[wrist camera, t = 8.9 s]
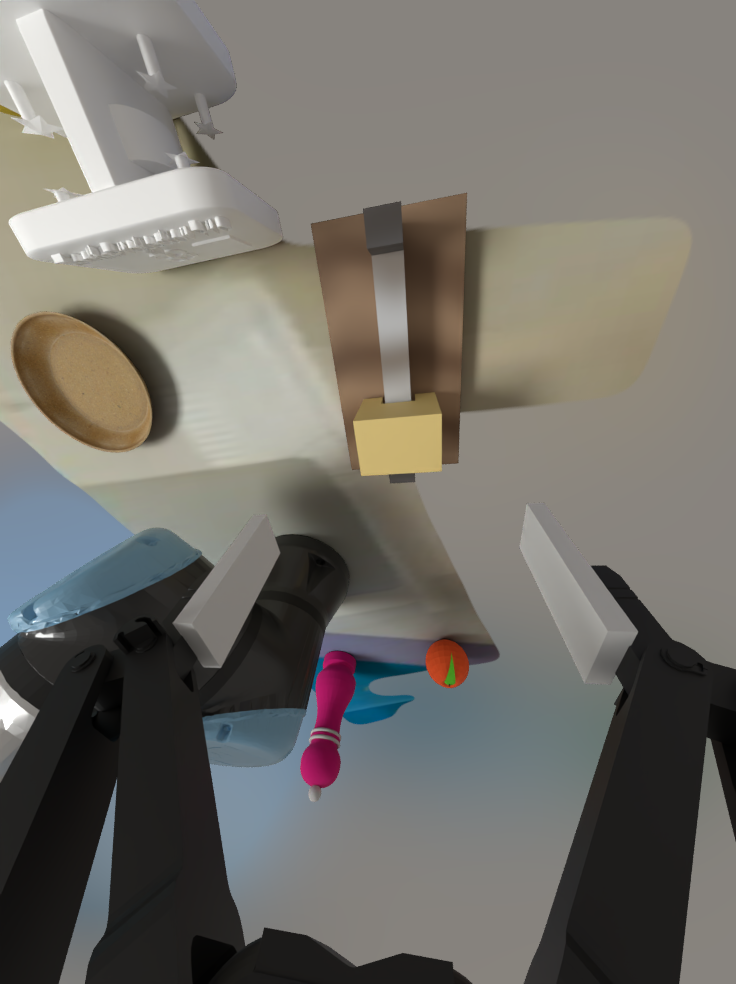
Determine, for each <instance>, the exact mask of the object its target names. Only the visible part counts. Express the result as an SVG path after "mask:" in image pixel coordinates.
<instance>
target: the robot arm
mask: <svg viewBox="0 0 736 984" xmlns="http://www.w3.org/2000/svg"><path fill="white" fill-rule="evenodd" d="M519 548H520V550H521V553H522V554H523V556H524V558H525V561H526V563H527V565H528V567H529V569H530V571H531V573H532V575H533V577H534V579H535V582H536V584H537V586H538V588H539V590H540V592H541V594H542V596H543V598H544V600H545V602H546V604H547V607H548V608H549V610H550V613H551V615H552V617H553V619H554V621H555V623H556V625H557V627H558V629H559V631H560V633H561V635H562V637H563V640H564V642H565V644H566V646H567V648H568V650H569V652H570V654H571V656H572V658H573V660H574V663H575V665H576V667H577V669H578V671H579V673H580V675H581V677H582V679H583V681H584V683H585V684H608V685H610V684H611V682H612V680H613V679H614V677H615V675H617V677H618V679H619V681H620V682H621V684H622V686H623V689H622V691H621V693H620V694H619V696H618V698H617V700H616V702H615V703H614V705H616V709H615V712H614V715H613V718H612V721H611V724H610V727H609V731H608V734H607V737H606V740H605V743H604V746H603V749H602V752H601V756H600V759H599V762H598V765H597V768H596V771H595V774H594V777H593V780H592V784H591V787H590V790H589V793H588V796H587V799H586V803H585V805H584V809H583V812H582V815H581V818H580V821H579V824H578V827H577V830H576V833H575V836H574V840H573V843H572V846H571V849H570V852H569V855H568V858H567V862H566V865H565V868H564V871H563V874H562V877H561V880H560V883H559V886H558V889H557V892H556V896H555V899H554V902H553V905H552V908H551V911H550V914H549V917H548V921H547V924H546V927H545V930H544V933H543V936H542V939H541V942H540V944H539V947H538V949H537V951H536V953H535V955H534V958H533V960H532V962H531V965H530V967H529V970H528V973H527V976H526V979H525V982H524V984H679V981H680V971H681V963H682V953H683V945H684V944H683V943H684V935H685V926H686V918H687V917H686V916H687V908H688V900H689V890H690V881H691V872H692V863H693V854H694V845H695V836H696V827H697V818H698V809H699V800H700V791H701V782H702V773H703V764H704V755H705V746H706V737H707V738H710V739H711V742H712V746H713V750H714V754H715V758H716V763H717V767H718V770H719V775H720V779H721V783H722V787H723V791H724V795H725V799H726V803H727V808H728V811H729V816H730V820H731V824H732V828H733V832H734V836H735V840H736V669H732V668H729V667H725V666H721V665H718V664H714V663H711V662H708V661H706V660H705V659H704V658H703V657H702V656H701V655H699V654H698V653H697V652H696V651H695V650H693V649H691V648H689V647H688V646H686V645H684V644H682V643H680V642H677V641H674V640H672V639H671V638H670V637H669V635H668V634H667V633H666V632H665V630H664V629H663V628H662V627H661V626H660V624H659V623H658V622H657V621H656V619H655V618H654V617H653V616H652V614H651V613H650V612H649V611H648V609H647V608H646V607H645V606H644V605H643V603H642V602H641V601H640V600H638V597H637V596H636V595H635V593H634V592H633V591H632V590H630V587H629V586H628V585H627V584H626V583H625V581H624V580H623V579H622V577H621V576H620V575H618V574H617V573H616V572H614V571H613V570H611V569H610V568H608V567H607V566H590V565H589V563H588V562H587V561H586V559H585V558H584V556H583V555H582V554H581V552H580V551H579V549H578V548H577V547H576V545H575V544H574V543H573V541H572V540H571V539H570V537H569V536H568V534H567V533H566V532H565V530H564V529H563V527H562V526H561V525H560V523H559V522H558V521H557V519H556V518H555V517H554V515H553V514H552V512H551V511H550V510H549V508H548V507H547V505H546V504H545V503H527V506H526V511H525V518H524V523H523V529H522V535H521V541H520V547H519ZM348 585H349V571H348V568H347V566H346V564H345V562H344V561H343V559H342V558H341V557H340V555H339V554H338V553H337V552H335V551H334V550H333V549H332V548H330V547H329V546H327V545H326V544H324V543H322V542H320V541H318V540H315V539H312V538H309V537H305V536H298V535H284V536H279V537H274V534H273V531H272V528H271V525H270V522H269V520H268V517H267V514H262V515H253V516H252V517H251V519H250V520H249V521H248V523H247V524H246V525H245V527H244V528H243V529H242V531H241V532H240V533H239V535H238V536H237V538H236V539H235V540H234V542H233V543H232V544H231V546H230V547H229V548H228V550H227V551H226V552H225V554H224V555H223V556H222V558H221V559H220V560H219V562H218V563H217V564H216V566H214V565H213V564H212V563H211V562H209V561H208V560H207V559H206V558H205V557H204V556H202V552H201V551H200V550H197V549H194V548H193V547H191V546H190V545H189V544H187V543H186V542H185V541H184V540H182V539H181V538H180V537H178V536H177V535H176V534H175V533H173V532H172V531H170V530H168V529H165V528H150V529H147V530H144V531H142V532H140V533H138V534H136V535H134V536H133V537H130V538H129V539H127V540H125V541H124V542H122V543H120V544H118V545H116V546H115V547H113V548H111V549H110V550H108V551H106V552H105V553H103V554H101V555H100V556H98V557H97V558H95V559H93V560H92V561H90V562H88V563H87V564H85V565H83V566H82V567H80V568H79V569H77V570H75V571H74V572H72V573H71V574H69V575H68V576H66V577H65V578H63V579H61V580H60V581H58V582H57V583H56V584H54V585H52V586H51V587H49V588H48V589H47V590H45V591H43V592H42V593H40V594H38V595H37V596H35V597H34V598H32V599H30V600H29V601H28V602H26V603H25V604H23V605H22V606H20V607H19V608H18V609H16V610H15V611H14V612H12V613H11V614H10V615H9V617H8V623H9V624H10V625H11V629H12V630H13V631H15V632H16V633H18V634H17V635H16V636H14V637H13V638H12V639H10V640H9V641H8V642H7V643H5V644H4V645H3V646H1V647H0V984H59V980H60V976H61V973H62V969H63V966H64V962H65V959H66V955H67V952H68V948H69V945H70V941H71V938H72V934H73V931H74V927H75V924H76V920H77V917H78V913H79V909H80V906H81V903H82V899H83V896H84V892H85V889H86V885H87V881H88V878H89V875H90V871H91V867H92V864H93V860H94V857H95V853H96V850H97V846H98V843H99V839H100V836H101V832H102V829H103V825H104V822H105V818H106V815H107V811H108V808H109V804H110V800H111V797H112V794H113V790H114V787H115V783H116V780H117V792H116V806H115V822H114V837H113V853H112V868H111V884H110V899H109V915H108V923H107V928H106V931H105V934H104V936H103V937H102V938H101V940H100V941H99V943H98V944H97V945H96V947H95V948H94V950H93V952H92V955H91V958H90V961H89V964H88V969H87V975H86V980H85V984H472V983H471V982H470V981H469V980H468V979H467V978H466V977H464V976H463V975H461V974H460V973H459V972H457V971H456V970H454V969H453V962H449V961H443V960H438V959H432V958H426V957H422V956H416V955H411V954H405V953H402V954H398V955H395V956H392V957H388V958H385V959H382V960H379V961H375V962H372V963H368V964H365V965H362V966H358V967H356V966H355V965H353V964H352V963H351V962H349V961H348V960H347V959H345V958H344V957H342V956H341V955H340V954H338V953H337V952H336V951H334V950H333V949H332V948H330V947H329V946H327V945H325V944H323V943H321V942H319V941H317V940H315V939H313V938H311V937H309V936H307V935H302V934H296V933H291V932H286V931H280V930H275V929H270V928H264V931H263V935H262V938H259V939H257V940H255V941H254V942H252V943H250V944H248V945H247V946H245V942H244V936H243V930H242V925H241V920H240V916H239V913H238V910H237V907H236V905H235V902H234V900H233V898H232V896H231V893H230V890H229V885H228V880H227V875H226V868H225V861H224V854H223V848H222V841H221V835H220V828H219V822H218V816H217V809H216V803H215V796H214V790H213V783H212V777H211V771H210V764H215V765H222V766H232V767H261V766H269V765H272V764H276V763H278V762H280V761H282V760H283V759H285V758H286V757H287V756H288V755H289V754H290V753H291V751H292V750H293V747H294V745H295V743H296V740H297V736H298V733H299V730H300V726H301V723H302V720H303V717H304V716H305V715H306V709H307V705H308V701H309V696H310V692H311V688H312V684H313V680H314V675H315V671H316V667H317V663H318V658H319V654H320V650H321V646H322V642H323V637H324V633H325V630H326V627H327V625H328V624H329V622H330V621H331V619H332V617H333V616H334V614H335V613H336V611H337V610H338V608H339V607H340V605H341V604H342V602H343V601H344V599H345V597H346V594H347V590H348Z"/></svg>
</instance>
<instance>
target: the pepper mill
mask: <svg viewBox="0 0 736 984" xmlns="http://www.w3.org/2000/svg"><path fill="white" fill-rule="evenodd" d="M355 667H356V660H355V658H354V657H353V656H351V655H350V654H348V653H346V652H342V651H332V652H329V653H327V654H326V655H325V658H324V662H323V668H324V669H323V670H322V671H321V672H320V673H319V674H318V677H317V681H316V697H317V707H318V713H317V720H316V724H315V728H314V729H313V730H312V731H311V737H310V738H309V742H310V745H309V746H308V747H307V748H306V750H305V751H304V753H303V755H302V758H301V768H300V769H301V774H302V777H303V779H304V781H305V782H306V783H307V784H309V785H310V786H311V788H310V790H309V798H310V800H311V801H312V802H316V801H318V800H319V798H320V796H321V788H325V787H327V786H329V785H331V784H332V783H333V782H334V781H335V780H336V778H337V776H338V773H339V770H340V763H341V761H340V756H339V753H338V751H337V749H338V748H339V747H340V741H341V736H340V734H339V731H340V725H341V720H342V717H343V714H344V711H345V710H346V708H347V706H348V704H349V702H350V700H351V699H352V696H353V694H354V690H355V685H356V682H355V678H354V676H353V674H354V672H355Z"/></svg>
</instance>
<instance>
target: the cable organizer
mask: <svg viewBox="0 0 736 984" xmlns="http://www.w3.org/2000/svg"><path fill="white" fill-rule="evenodd" d="M236 88H237V84H236V79H235V75H234V71H233V66H232V63H231V58H230V54H229V51H228V49H227V47H226V46H225V44H224V43H223V41H222V40H221V38H220V37H219V36H218V34H217V32H216V31H215V29H214V28H213V27H212V25H211V24H210V22H209V21H208V19H207V18H206V16H205V15H204V13H203V12H202V11H201V9H200V8H199V6H198V5H197V3H196V2H195V1H194V0H0V105H2V106H4V107H6V108H8V109H10V110H12V111H14V112H16V113H18V114H20V115H21V117H22V119H18V118H12V119H14V120H16V121H17V122H19V123H21V124H22V125H24V126H25V127H24V129H23V131H22V133H29V134H38V135H44V136H47V137H50V138H53V139H54V136H53V133H52V132H56V133H58V134H59V135H61V136H64V137H66V138H68V140H69V142H70V144H71V147H72V149H73V151H74V153H75V156H76V158H77V160H78V162H79V165H80V167H81V169H82V171H83V174H84V176H85V178H86V180H87V182H88V185H89V187H90V189H91V191H92V193H89V194H85V195H82V194H77V193H73V192H69V191H68V190H66V189H65V188H63V187H62V188H60V189H59V190H53V189H44V190H47V191H50V192H52V193H54V197H56V198H57V200H58V202H57V203H54V204H50V205H46V206H43V207H39V208H36V209H32V210H29V211H25V212H22V213H19V214H17V215H15V216H13V217H12V218H11V219H10V220H9V225H10V227H11V228H12V230H13V232H14V234H15V235H16V237H17V239H18V241H19V242H20V244H21V246H22V248H23V249H24V251H25V253H26V255H27V256H28V257H30V258H32V259H35V260H38V261H44V262H52V263H55V264H67V265H74V266H82V267H89V268H97V269H104V270H112V271H119V272H127V273H151V272H157V271H162V270H167V269H171V268H176V267H180V266H185V265H189V264H194V263H198V262H203V261H208V260H212V259H217V258H221V257H226V256H230V255H235V254H239V253H244V252H248V251H253V250H257V249H262V248H266V247H269V246H272V245H275V244H277V243H278V242H280V241H281V240H282V239H283V234H282V230H281V225H280V221H279V217H278V212H277V211H276V210H275V209H274V208H273V207H271V206H270V205H269V204H267V203H266V202H265V201H264V200H262V199H261V198H260V197H258V196H257V195H256V194H254V193H253V192H252V191H250V190H249V189H248V188H246V187H245V186H244V185H243V184H241V183H240V182H238V181H237V180H236V179H235V178H233V177H232V176H231V175H229V174H228V173H226V172H225V171H222V170H220V169H216V168H211V167H190V164H194V163H200V162H198V161H195V160H192V159H189V158H188V156H187V154H186V153H185V151H184V152H183V150H182V147H181V144H180V141H179V138H178V135H177V131H176V128H175V125H174V122H173V119H175V118H178V117H181V116H185V115H188V114H191V113H194V112H197V111H199V115H200V118H201V122H202V124H200V123H196V122H194V123H195V124H196V125H197V126H198V127H199V128H200V130H199V131H198V132H197V134H207V135H208V136H210V137H211V138H213V139H214V136H215V134H218V133H222V132H220V131H218V130H216V129H214V127H213V123H212V120H211V116H210V112H209V109H208V108H210V107H213V106H216V105H219V104H221V103H224V102H225V101H227V100H228V99H230V98H231V97H232V96H233V94H234V92H235V91H236ZM10 118H11V117H10ZM76 196H78V197H76Z"/></svg>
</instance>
